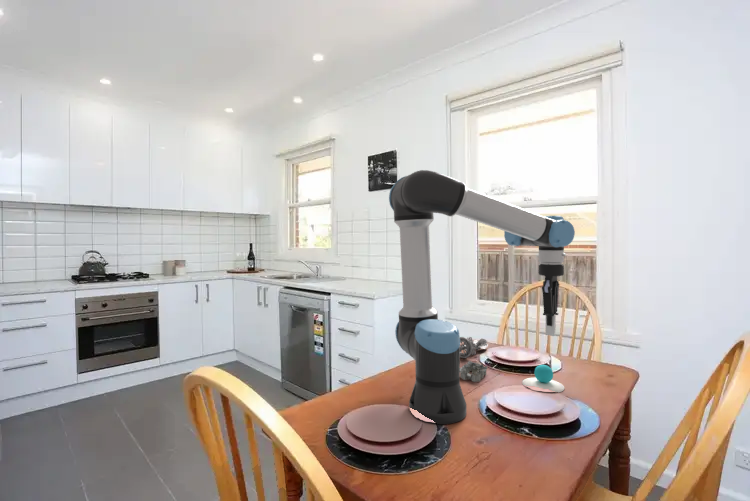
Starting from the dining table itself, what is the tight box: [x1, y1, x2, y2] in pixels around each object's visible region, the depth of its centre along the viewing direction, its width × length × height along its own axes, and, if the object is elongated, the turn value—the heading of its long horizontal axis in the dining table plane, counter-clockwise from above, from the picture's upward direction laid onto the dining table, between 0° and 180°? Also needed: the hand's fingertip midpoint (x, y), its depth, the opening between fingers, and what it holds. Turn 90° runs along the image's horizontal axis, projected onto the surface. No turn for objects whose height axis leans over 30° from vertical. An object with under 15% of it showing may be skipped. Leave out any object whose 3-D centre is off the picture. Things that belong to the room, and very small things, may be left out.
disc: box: [521, 377, 565, 394], centre depth 120 cm, size 12×12×1 cm
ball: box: [533, 364, 554, 383], centre depth 122 cm, size 6×6×6 cm
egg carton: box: [460, 360, 488, 383], centre depth 128 cm, size 10×7×4 cm
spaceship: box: [460, 336, 489, 359], centre depth 147 cm, size 8×35×8 cm
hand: (550, 334), depth 126 cm, fingers closed
